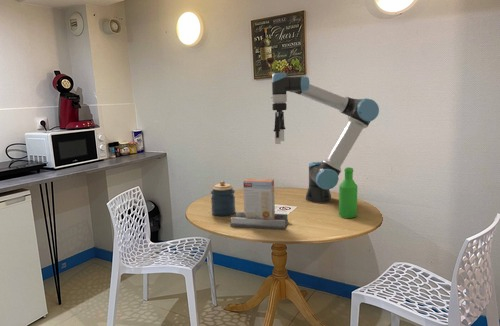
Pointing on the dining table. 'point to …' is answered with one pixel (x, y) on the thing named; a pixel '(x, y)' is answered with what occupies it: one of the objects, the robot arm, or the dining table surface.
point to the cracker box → (259, 198)
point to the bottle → (348, 195)
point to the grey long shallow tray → (260, 222)
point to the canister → (223, 199)
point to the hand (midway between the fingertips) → (279, 142)
